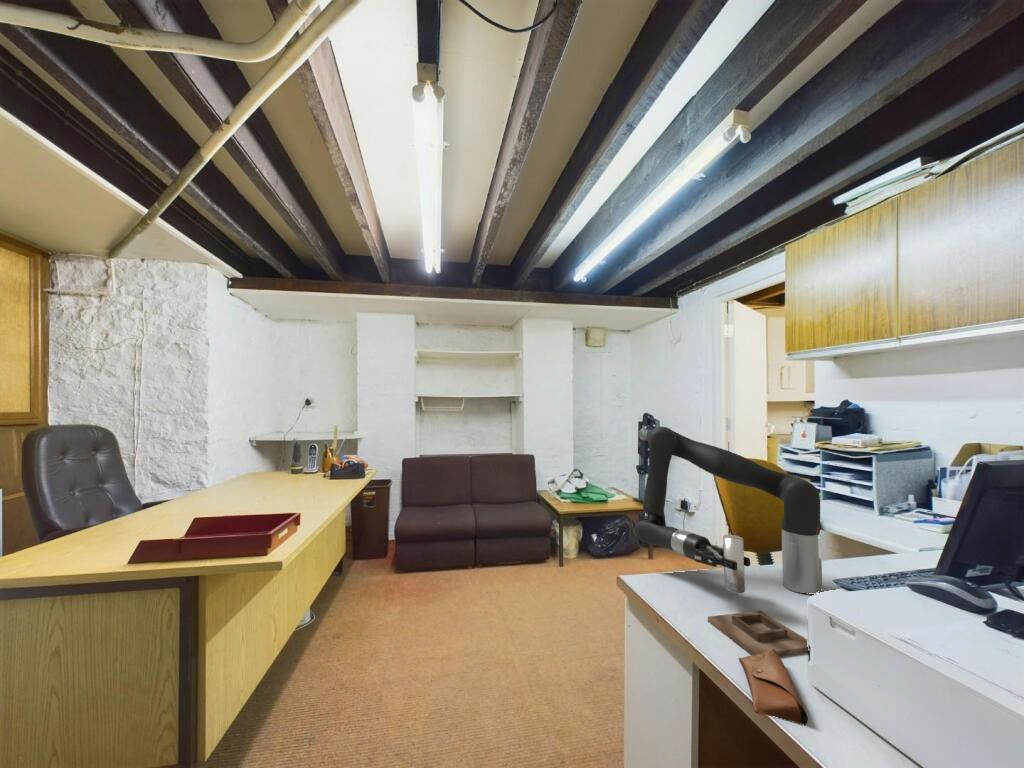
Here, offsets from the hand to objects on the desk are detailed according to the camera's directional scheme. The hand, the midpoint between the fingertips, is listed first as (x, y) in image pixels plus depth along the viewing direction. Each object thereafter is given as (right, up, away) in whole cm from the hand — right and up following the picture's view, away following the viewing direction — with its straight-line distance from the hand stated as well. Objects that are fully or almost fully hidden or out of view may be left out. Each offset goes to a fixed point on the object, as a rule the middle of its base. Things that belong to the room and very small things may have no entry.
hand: (742, 564), depth 111 cm
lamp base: (-3, -12, -12) cm, 17 cm away
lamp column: (-1, -8, +2) cm, 8 cm away
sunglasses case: (-12, -12, -30) cm, 34 cm away
